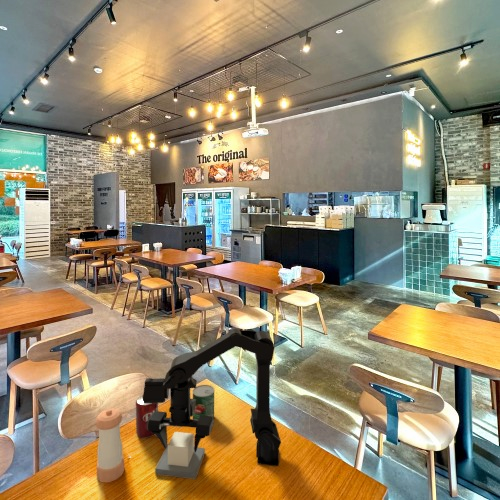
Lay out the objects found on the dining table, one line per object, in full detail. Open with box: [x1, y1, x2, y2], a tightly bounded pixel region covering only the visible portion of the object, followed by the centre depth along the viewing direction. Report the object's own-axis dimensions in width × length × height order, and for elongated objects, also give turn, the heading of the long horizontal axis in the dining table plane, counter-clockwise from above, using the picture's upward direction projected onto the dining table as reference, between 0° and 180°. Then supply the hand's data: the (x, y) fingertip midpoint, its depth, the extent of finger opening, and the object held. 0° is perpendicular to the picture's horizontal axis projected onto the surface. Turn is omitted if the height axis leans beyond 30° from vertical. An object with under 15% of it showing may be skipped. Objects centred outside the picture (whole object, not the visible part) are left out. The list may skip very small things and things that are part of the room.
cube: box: [167, 431, 195, 467], centre depth 97 cm, size 6×6×6 cm
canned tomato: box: [192, 384, 215, 421], centre depth 118 cm, size 8×8×11 cm
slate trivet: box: [154, 444, 206, 480], centre depth 97 cm, size 12×10×2 cm
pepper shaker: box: [94, 408, 125, 483], centre depth 93 cm, size 7×7×19 cm
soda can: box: [135, 394, 159, 439], centre depth 111 cm, size 7×7×12 cm
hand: (180, 449), depth 97 cm, fingers open, 9 cm apart
